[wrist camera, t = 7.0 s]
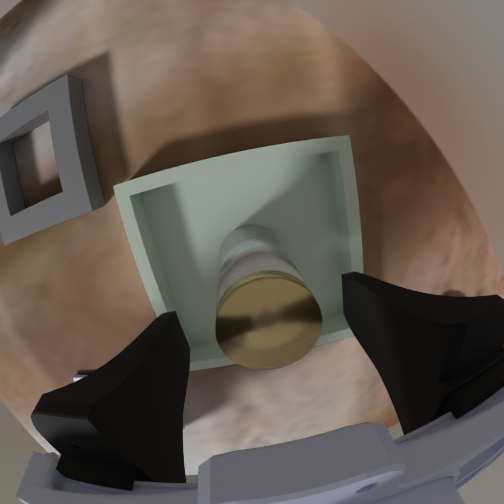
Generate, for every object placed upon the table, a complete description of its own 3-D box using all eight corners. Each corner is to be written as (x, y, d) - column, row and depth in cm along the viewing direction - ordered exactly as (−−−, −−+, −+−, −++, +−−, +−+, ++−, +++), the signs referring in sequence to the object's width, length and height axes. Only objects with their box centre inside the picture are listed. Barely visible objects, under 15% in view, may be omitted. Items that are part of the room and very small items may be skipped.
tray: (351, 314, 20) (363, 332, 18) (185, 350, 20) (181, 372, 18) (333, 136, 16) (349, 134, 14) (128, 181, 16) (113, 185, 13)
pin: (289, 275, 18) (327, 353, 11) (229, 291, 18) (233, 378, 11) (275, 217, 17) (314, 268, 9) (211, 234, 17) (199, 298, 9)
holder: (105, 204, 16) (92, 211, 14) (19, 237, 16) (4, 245, 14) (81, 79, 13) (67, 73, 11) (-3, 132, 13) (-19, 133, 11)
